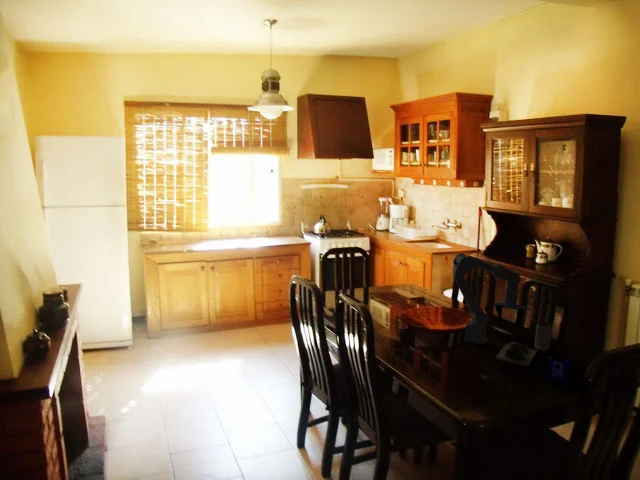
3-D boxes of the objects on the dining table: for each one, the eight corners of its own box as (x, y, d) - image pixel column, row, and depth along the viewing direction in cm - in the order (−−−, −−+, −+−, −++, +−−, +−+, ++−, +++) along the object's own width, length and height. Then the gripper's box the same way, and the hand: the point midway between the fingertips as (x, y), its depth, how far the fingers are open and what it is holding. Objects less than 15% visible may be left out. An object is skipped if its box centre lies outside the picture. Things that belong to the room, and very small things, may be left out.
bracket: (567, 384, 214) (570, 363, 212) (545, 380, 217) (547, 359, 215) (568, 368, 230) (570, 348, 228) (547, 364, 233) (549, 344, 232)
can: (550, 351, 247) (553, 327, 245) (535, 350, 248) (538, 326, 246) (547, 346, 253) (550, 322, 251) (533, 345, 255) (535, 321, 252)
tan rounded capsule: (508, 357, 237) (509, 344, 236) (510, 354, 240) (512, 341, 239) (518, 359, 234) (519, 346, 233) (520, 356, 238) (522, 343, 237)
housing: (495, 359, 237) (496, 352, 236) (506, 345, 253) (506, 339, 253) (528, 366, 230) (529, 360, 229) (537, 352, 246) (537, 346, 246)
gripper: (493, 295, 255) (491, 322, 257) (525, 300, 248) (523, 328, 251) (496, 292, 261) (494, 318, 263) (527, 296, 254) (525, 323, 257)
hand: (508, 323), depth 257 cm, fingers open, 7 cm apart
